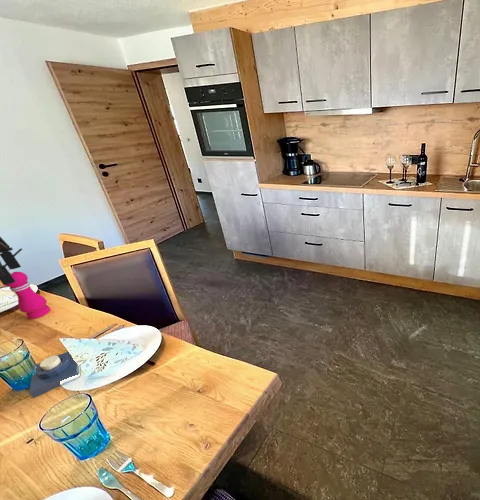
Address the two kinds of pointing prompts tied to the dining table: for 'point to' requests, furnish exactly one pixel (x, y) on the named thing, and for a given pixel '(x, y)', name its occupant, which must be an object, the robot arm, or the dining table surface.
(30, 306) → the pepper mill
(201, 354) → the dining table surface
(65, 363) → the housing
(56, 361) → the beige round button
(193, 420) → the dining table surface
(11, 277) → the robot arm
